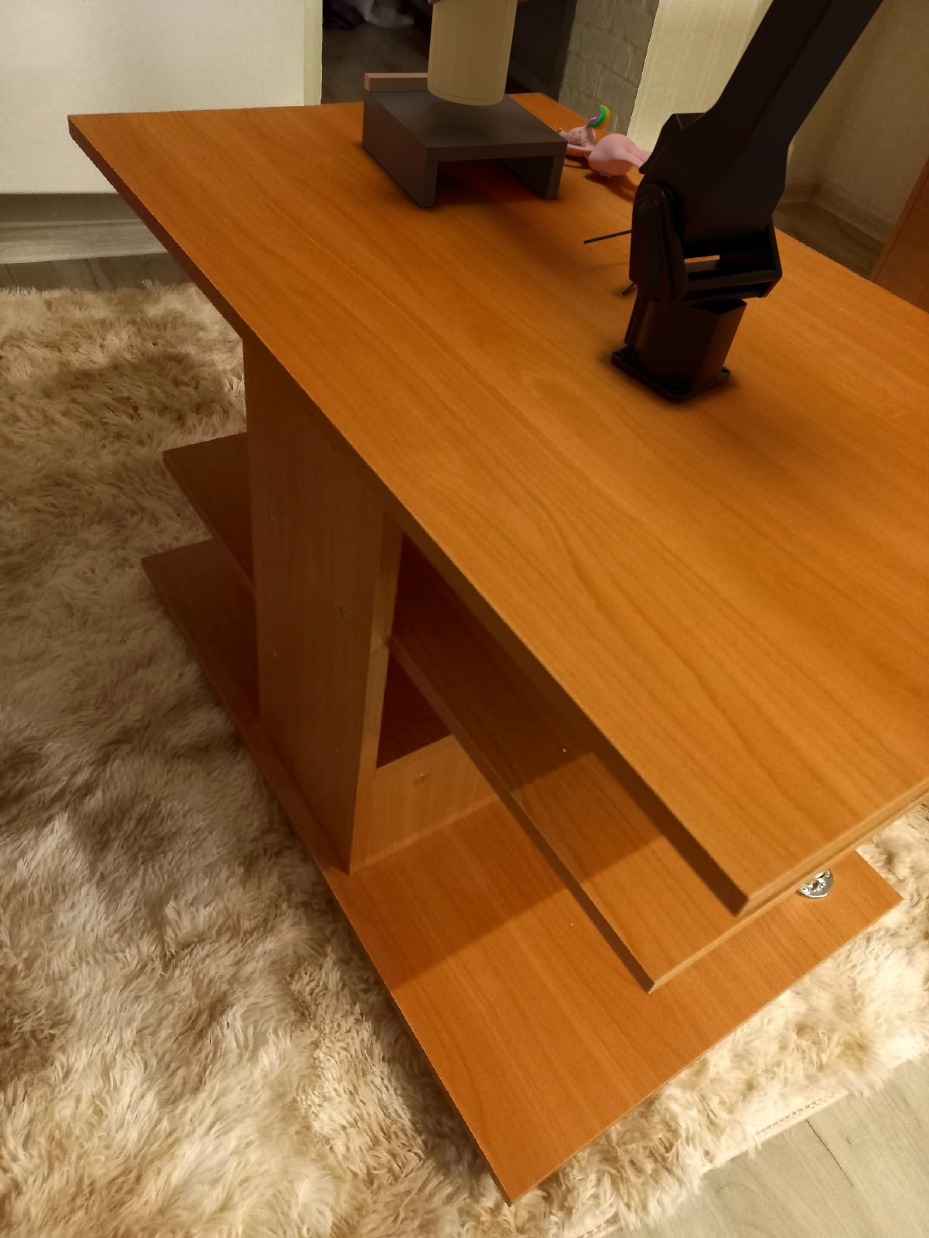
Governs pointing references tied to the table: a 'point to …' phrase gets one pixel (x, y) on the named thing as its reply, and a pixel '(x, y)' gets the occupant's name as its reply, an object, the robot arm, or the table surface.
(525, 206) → the table surface
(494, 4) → the bottle
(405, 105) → the shelf
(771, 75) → the robot arm
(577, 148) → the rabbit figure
